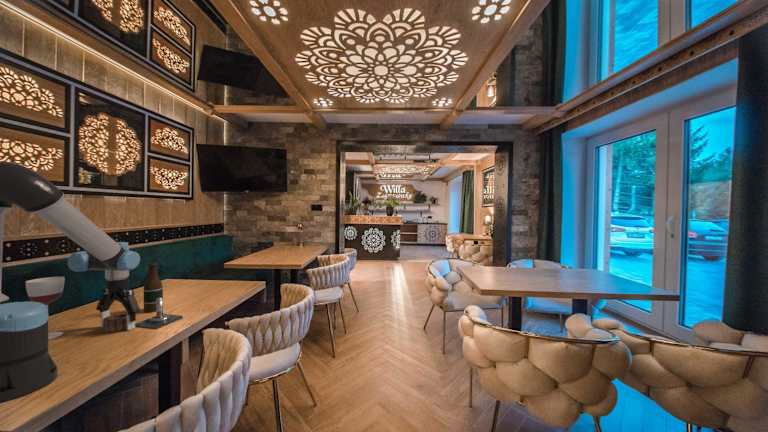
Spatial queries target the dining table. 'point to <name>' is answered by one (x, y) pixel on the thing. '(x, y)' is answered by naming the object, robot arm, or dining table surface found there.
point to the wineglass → (46, 293)
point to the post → (159, 317)
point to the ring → (115, 323)
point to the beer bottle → (152, 289)
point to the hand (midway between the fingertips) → (118, 327)
